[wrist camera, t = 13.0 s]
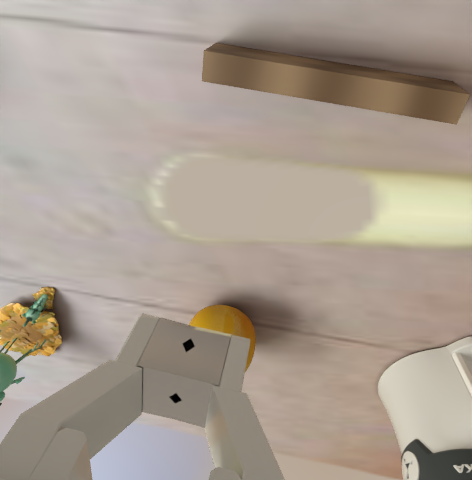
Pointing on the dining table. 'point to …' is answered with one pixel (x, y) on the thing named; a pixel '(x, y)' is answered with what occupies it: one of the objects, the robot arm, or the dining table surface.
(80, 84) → the dining table surface
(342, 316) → the dining table surface
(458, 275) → the dining table surface
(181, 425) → the dining table surface
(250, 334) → the fruit
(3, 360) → the green and yellow piece
